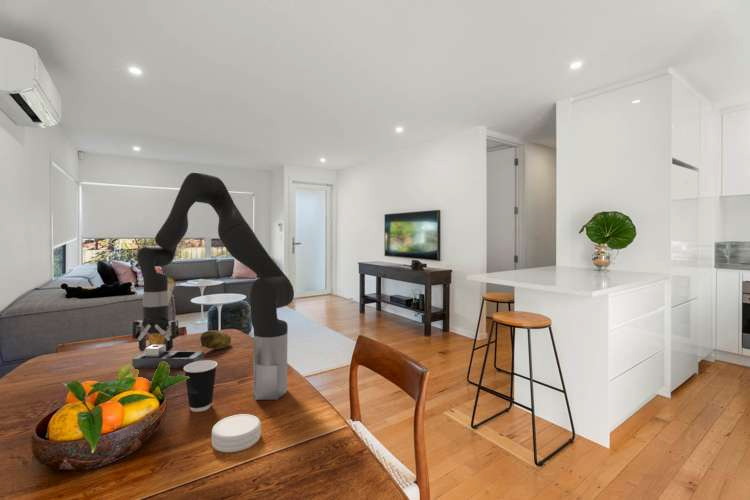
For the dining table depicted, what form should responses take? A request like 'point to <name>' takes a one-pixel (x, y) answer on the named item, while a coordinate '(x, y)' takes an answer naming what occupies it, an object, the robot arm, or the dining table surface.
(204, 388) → the dixie cup
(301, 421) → the dining table surface
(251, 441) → the coaster
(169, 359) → the grey compartment tray
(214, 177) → the robot arm
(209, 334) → the potato
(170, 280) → the pancake mix bag
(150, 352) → the nut block
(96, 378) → the dining table surface
